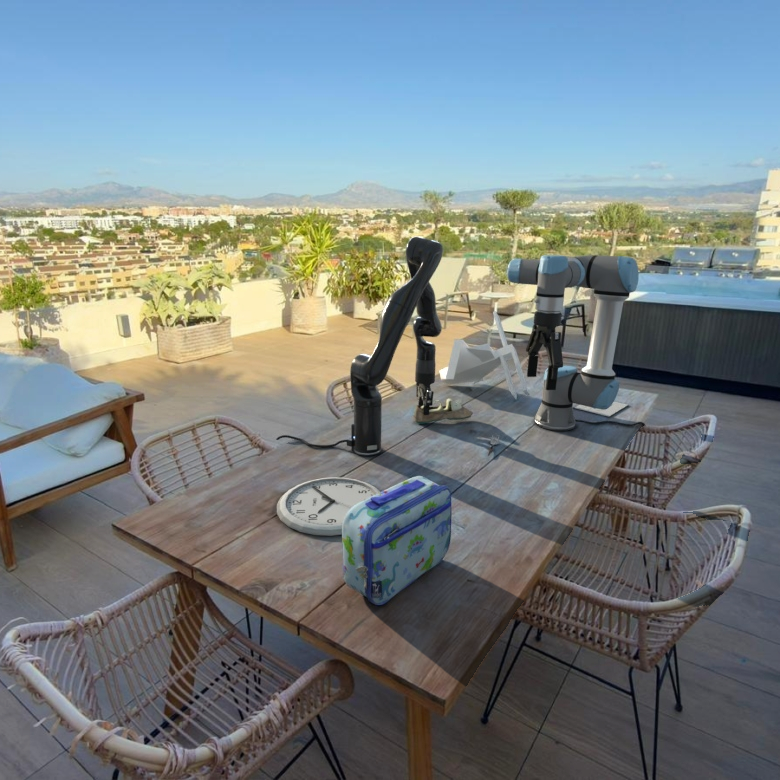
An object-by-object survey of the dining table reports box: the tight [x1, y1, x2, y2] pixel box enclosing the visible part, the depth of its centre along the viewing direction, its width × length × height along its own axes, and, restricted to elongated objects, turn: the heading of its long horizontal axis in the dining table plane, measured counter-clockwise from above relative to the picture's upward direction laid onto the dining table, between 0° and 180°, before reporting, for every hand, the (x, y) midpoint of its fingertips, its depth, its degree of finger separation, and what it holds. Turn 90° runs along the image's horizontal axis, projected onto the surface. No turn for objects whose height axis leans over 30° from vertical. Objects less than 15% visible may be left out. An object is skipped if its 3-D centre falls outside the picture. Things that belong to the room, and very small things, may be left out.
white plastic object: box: [438, 310, 531, 400], centre depth 245 cm, size 37×45×31 cm
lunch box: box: [341, 475, 453, 606], centre depth 111 cm, size 26×11×21 cm, turn 134°
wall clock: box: [276, 476, 382, 537], centre depth 142 cm, size 30×2×30 cm
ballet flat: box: [412, 397, 474, 425], centre depth 204 cm, size 8×25×8 cm, turn 106°
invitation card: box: [573, 401, 629, 418], centre depth 226 cm, size 21×1×15 cm
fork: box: [487, 436, 500, 456], centre depth 181 cm, size 3×16×2 cm, turn 160°
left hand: (423, 411), depth 203 cm, fingers closed on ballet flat, 5 cm apart
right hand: (540, 382), depth 155 cm, fingers open, 13 cm apart
